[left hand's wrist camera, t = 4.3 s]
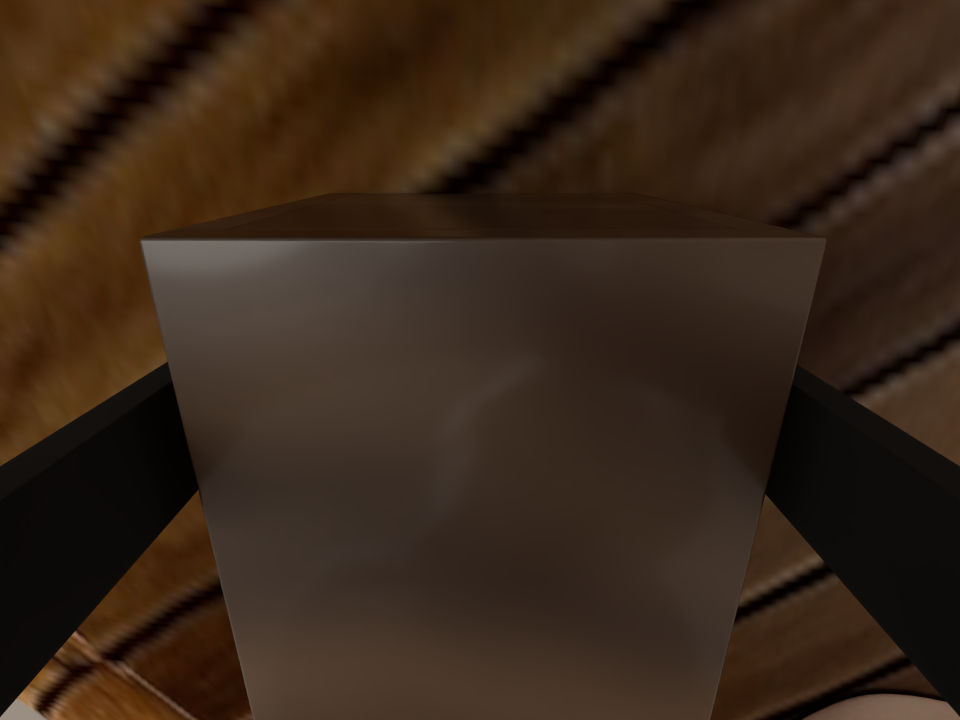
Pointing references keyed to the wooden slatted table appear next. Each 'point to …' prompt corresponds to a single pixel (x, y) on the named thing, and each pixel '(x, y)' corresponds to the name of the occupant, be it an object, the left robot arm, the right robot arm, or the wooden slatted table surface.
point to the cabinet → (482, 444)
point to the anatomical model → (886, 709)
